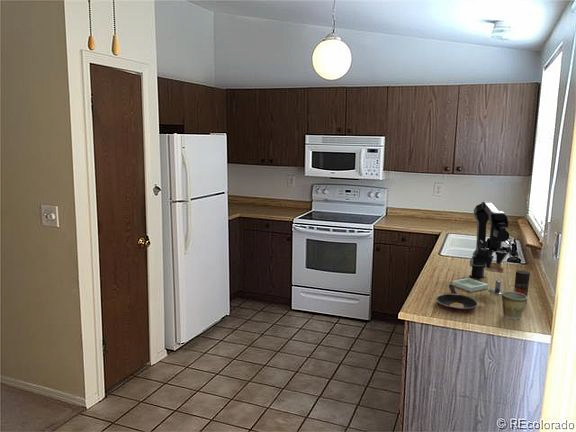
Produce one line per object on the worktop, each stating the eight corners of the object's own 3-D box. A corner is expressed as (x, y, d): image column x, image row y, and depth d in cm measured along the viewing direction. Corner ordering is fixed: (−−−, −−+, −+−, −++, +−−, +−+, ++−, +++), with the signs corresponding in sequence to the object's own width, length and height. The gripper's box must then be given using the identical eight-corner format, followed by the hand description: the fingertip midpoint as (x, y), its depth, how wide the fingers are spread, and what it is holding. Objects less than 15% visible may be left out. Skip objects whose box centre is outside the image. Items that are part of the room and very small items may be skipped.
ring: (491, 267, 244) (491, 261, 243) (506, 271, 236) (507, 265, 236) (482, 269, 240) (482, 262, 240) (497, 273, 233) (497, 267, 232)
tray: (468, 282, 255) (468, 277, 254) (487, 289, 244) (488, 284, 244) (451, 285, 249) (452, 280, 249) (471, 292, 238) (471, 287, 238)
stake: (495, 288, 245) (496, 277, 244) (509, 293, 238) (511, 282, 236) (484, 291, 241) (485, 280, 240) (498, 296, 234) (500, 284, 232)
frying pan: (436, 312, 212) (437, 304, 212) (431, 289, 243) (431, 282, 242) (481, 316, 208) (482, 308, 208) (469, 292, 239) (470, 285, 239)
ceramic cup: (517, 323, 201) (519, 300, 199) (495, 315, 209) (497, 294, 207) (532, 316, 209) (535, 294, 207) (510, 309, 217) (513, 288, 215)
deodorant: (509, 300, 228) (513, 270, 225) (519, 299, 230) (522, 269, 227) (519, 305, 222) (523, 274, 220) (529, 303, 224) (532, 273, 222)
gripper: (494, 231, 247) (491, 260, 250) (469, 235, 238) (467, 265, 241) (513, 236, 238) (510, 266, 241) (488, 240, 229) (485, 271, 232)
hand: (492, 267), depth 239 cm, fingers closed on ring, 7 cm apart
